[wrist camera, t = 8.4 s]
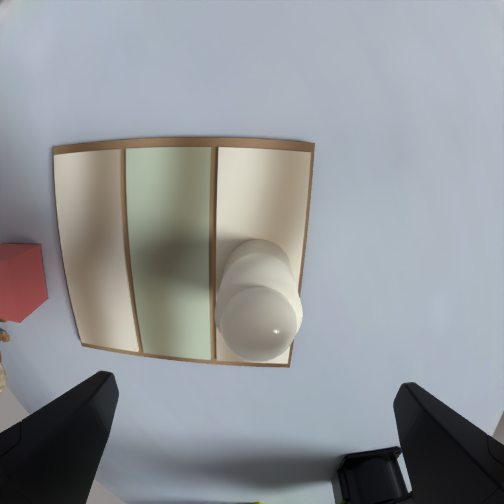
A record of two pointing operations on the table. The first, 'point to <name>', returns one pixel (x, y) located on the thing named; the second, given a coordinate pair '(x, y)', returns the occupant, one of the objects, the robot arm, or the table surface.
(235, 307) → the pawn
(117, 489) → the table surface
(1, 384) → the lion figurine
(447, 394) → the table surface
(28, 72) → the table surface
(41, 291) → the die
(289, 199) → the board
